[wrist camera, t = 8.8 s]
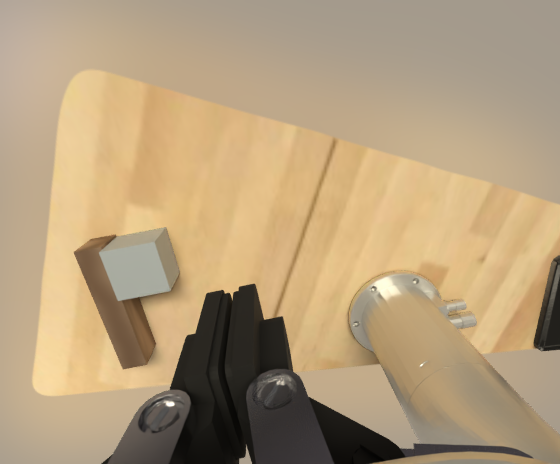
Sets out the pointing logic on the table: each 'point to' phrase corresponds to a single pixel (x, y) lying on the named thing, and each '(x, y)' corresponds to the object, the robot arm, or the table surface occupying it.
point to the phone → (550, 312)
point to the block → (140, 264)
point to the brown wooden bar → (116, 308)
